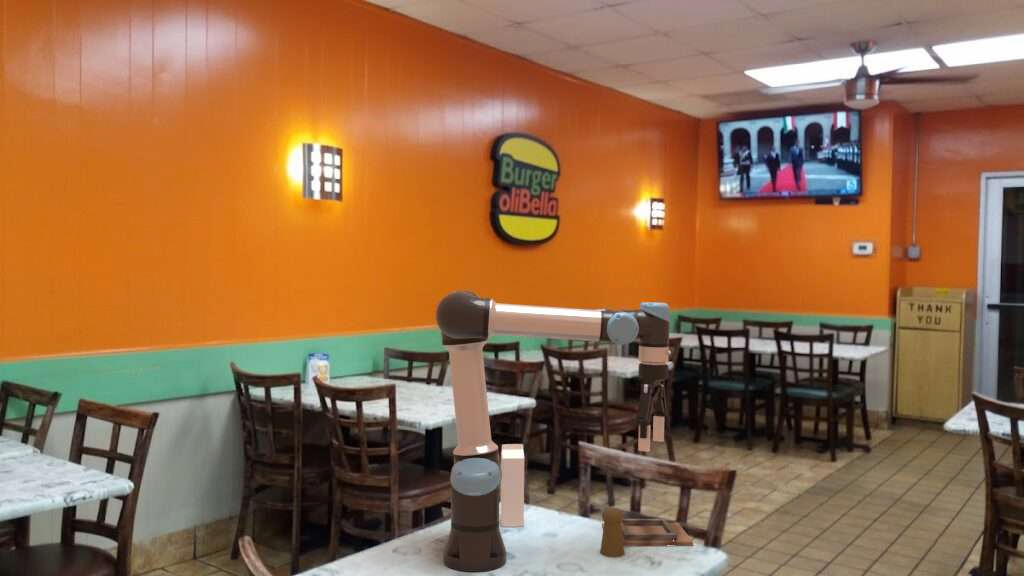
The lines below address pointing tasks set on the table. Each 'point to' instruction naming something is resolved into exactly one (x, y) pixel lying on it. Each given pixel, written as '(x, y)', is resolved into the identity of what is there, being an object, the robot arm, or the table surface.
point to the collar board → (653, 533)
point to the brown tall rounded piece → (612, 533)
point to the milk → (512, 485)
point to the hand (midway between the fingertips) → (651, 446)
